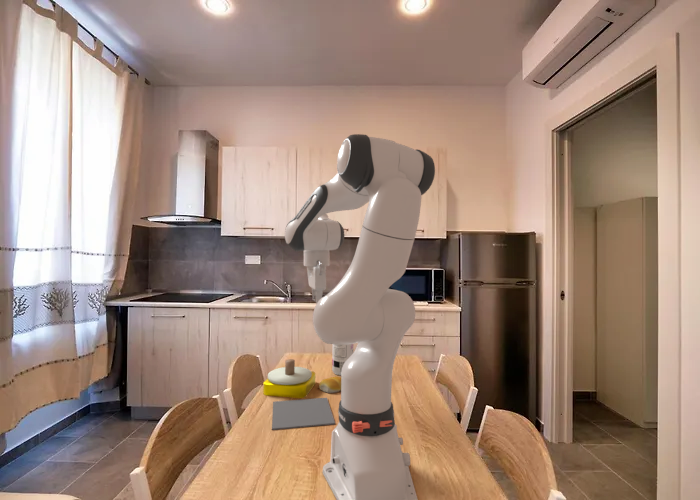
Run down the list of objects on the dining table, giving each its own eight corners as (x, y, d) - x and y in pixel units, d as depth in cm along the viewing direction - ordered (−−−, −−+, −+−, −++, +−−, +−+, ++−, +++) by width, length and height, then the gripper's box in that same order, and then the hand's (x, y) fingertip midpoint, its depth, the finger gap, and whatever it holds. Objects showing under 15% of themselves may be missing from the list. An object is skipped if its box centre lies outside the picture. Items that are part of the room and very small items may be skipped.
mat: (335, 424, 95) (335, 422, 95) (271, 430, 92) (271, 428, 92) (326, 398, 112) (326, 397, 112) (273, 402, 108) (273, 401, 108)
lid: (313, 382, 114) (314, 366, 114) (267, 386, 111) (267, 369, 111) (309, 368, 129) (309, 353, 129) (268, 370, 125) (268, 355, 125)
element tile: (304, 400, 112) (304, 385, 112) (260, 396, 114) (261, 382, 114) (316, 383, 126) (316, 369, 127) (277, 380, 129) (277, 367, 129)
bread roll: (349, 388, 121) (350, 376, 121) (331, 395, 115) (331, 383, 115) (333, 382, 127) (333, 371, 127) (315, 388, 120) (315, 377, 120)
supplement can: (329, 370, 138) (329, 333, 139) (347, 368, 142) (348, 331, 142) (337, 377, 131) (337, 337, 131) (356, 374, 135) (356, 335, 135)
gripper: (330, 260, 107) (331, 305, 106) (322, 261, 127) (322, 298, 126) (310, 260, 106) (310, 306, 105) (304, 261, 126) (305, 299, 125)
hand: (317, 302), depth 116 cm, fingers open, 8 cm apart
